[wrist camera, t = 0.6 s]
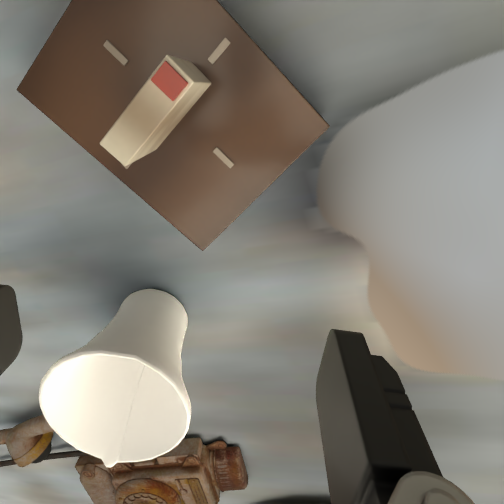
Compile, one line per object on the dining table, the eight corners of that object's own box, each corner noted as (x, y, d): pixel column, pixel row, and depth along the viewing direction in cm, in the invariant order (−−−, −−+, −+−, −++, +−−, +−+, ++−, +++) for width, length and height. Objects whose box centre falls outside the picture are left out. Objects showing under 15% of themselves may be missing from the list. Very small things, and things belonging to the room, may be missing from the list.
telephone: (-106, 414, 36) (-150, 455, 32) (223, 381, 32) (217, 423, 29) (-29, 503, 43) (-58, 546, 39) (251, 484, 39) (250, 529, 35)
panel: (45, 89, 23) (13, 89, 20) (150, -71, 20) (129, -98, 17) (209, 234, 27) (201, 252, 24) (323, 121, 23) (330, 126, 20)
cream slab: (155, 150, 22) (123, 168, 17) (135, 131, 21) (96, 144, 16) (212, 83, 20) (193, 81, 15) (191, 61, 20) (165, 53, 15)
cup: (100, 348, 32) (32, 453, 23) (112, 255, 28) (36, 336, 19) (200, 373, 32) (172, 485, 23) (225, 285, 29) (203, 378, 19)
